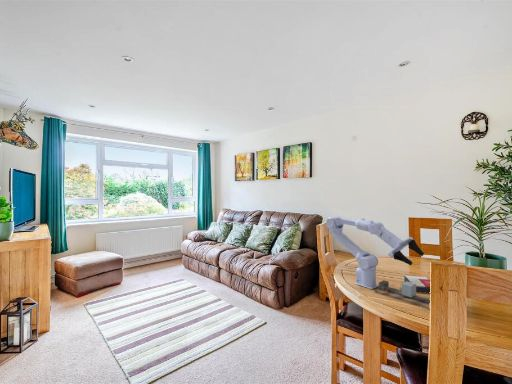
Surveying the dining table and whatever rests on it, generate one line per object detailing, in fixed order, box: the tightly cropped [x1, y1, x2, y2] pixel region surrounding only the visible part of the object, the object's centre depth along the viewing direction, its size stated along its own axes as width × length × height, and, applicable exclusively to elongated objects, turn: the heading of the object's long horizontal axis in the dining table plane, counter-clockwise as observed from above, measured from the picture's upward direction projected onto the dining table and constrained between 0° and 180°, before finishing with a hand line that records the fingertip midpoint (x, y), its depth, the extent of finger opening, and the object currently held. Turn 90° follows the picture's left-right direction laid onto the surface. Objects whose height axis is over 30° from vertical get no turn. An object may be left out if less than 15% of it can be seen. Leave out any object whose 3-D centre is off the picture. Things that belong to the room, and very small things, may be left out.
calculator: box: [403, 275, 431, 294], centre depth 127 cm, size 11×4×15 cm
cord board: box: [374, 280, 430, 310], centre depth 114 cm, size 25×10×4 cm, turn 37°
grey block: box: [401, 281, 417, 297], centre depth 113 cm, size 4×6×5 cm
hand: (417, 259), depth 111 cm, fingers open, 7 cm apart
